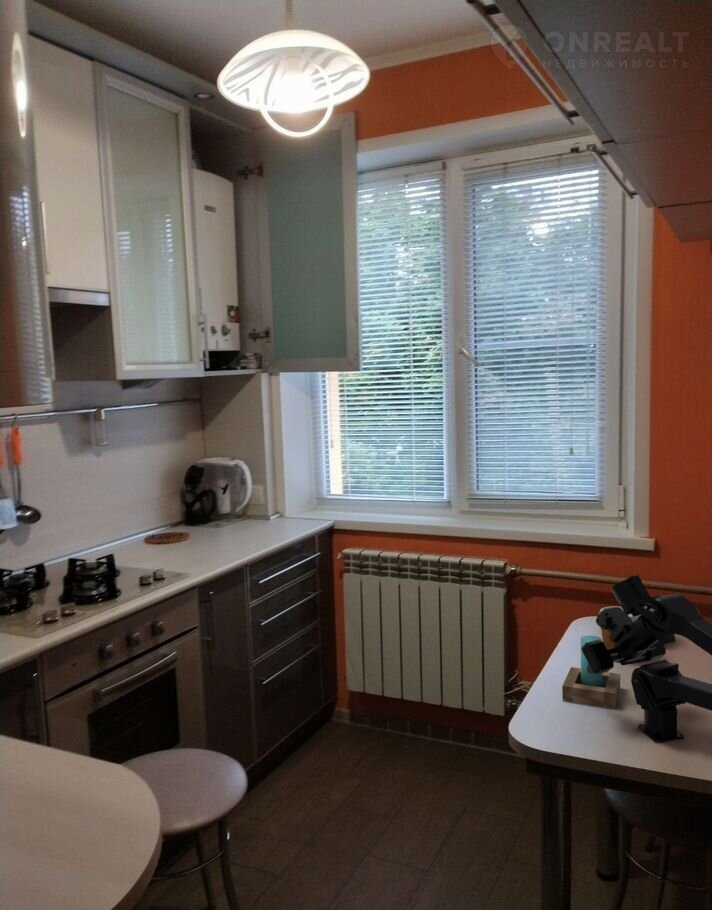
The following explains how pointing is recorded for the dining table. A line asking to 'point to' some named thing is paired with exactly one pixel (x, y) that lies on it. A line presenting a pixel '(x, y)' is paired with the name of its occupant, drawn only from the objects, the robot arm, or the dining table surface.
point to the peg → (585, 676)
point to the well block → (591, 690)
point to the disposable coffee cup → (606, 633)
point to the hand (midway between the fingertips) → (604, 667)
